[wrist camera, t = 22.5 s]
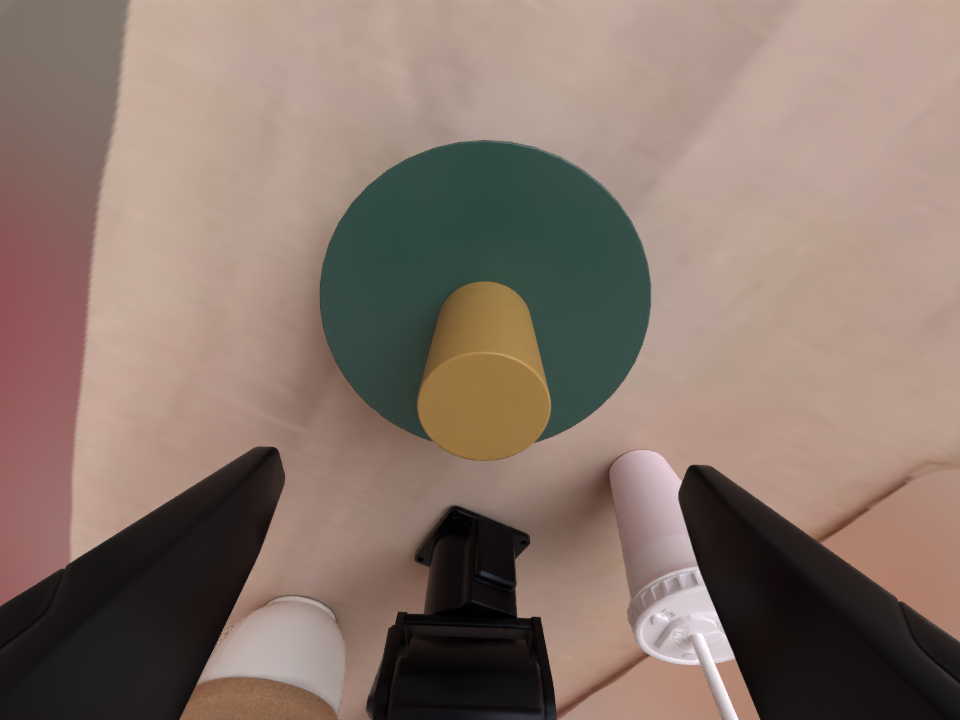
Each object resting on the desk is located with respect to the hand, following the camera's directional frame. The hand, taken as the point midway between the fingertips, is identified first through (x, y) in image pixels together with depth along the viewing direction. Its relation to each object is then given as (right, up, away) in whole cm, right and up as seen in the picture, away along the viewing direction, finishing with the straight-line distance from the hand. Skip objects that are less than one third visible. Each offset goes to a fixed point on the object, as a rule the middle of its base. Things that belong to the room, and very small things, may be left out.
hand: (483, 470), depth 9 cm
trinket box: (-16, -20, +26) cm, 37 cm away
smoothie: (+10, -5, +18) cm, 21 cm away
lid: (0, +4, +7) cm, 8 cm away
